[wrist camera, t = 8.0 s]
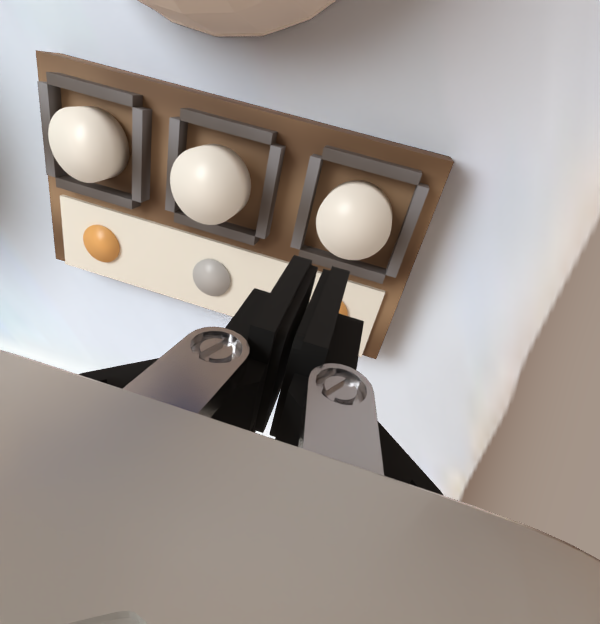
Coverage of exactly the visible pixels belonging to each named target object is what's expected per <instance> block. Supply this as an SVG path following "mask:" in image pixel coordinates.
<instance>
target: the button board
mask: <svg viewBox="0 0 600 624" xmlns="http://www.w3.org/2000/svg"><path fill="white" fill-rule="evenodd" d="M36 58H37V68H38V79H39V81H37V82H38V92H39V102H40V112H41V122H42V132H43V142H44V153H45V163H46V173H47V175H48V181H49V192H50V202H51V212H52V223H53V233H54V243H55V253H56V259H59V260H62V261H65V253H64V241H63V229H62V217H61V206H60V195H66V196H70V197H73V198H76V199H80V200H83V201H87V202H90V203H93V204H97V205H100V206H103V207H107V208H110V209H113V210H117V211H120V212H123V213H127V214H130V215H133V216H137V217H140V218H143V219H147V220H150V221H153V222H157V223H160V224H163V225H167V226H170V227H173V228H177V229H180V230H184V231H187V232H190V233H194V234H197V235H200V236H204V237H207V238H210V239H214V240H217V241H220V242H224V243H227V244H230V245H234V246H237V247H240V248H244V249H247V250H250V251H254V252H257V253H260V254H264V255H267V256H270V257H274V258H277V259H281V260H284V261H287V262H290V260H291V259H292V257H293V256H294V255H296V256H300V257H303V258H306V259H310V260H312V265H313V266H316V267H318V270H317V271H321V272H322V271H323V269H326V270H331V268H332V266H334V267H337V268H341V269H344V270H347V271H350V274H349V278H348V280H351V281H354V282H357V283H361V284H364V285H367V286H371V287H374V288H378V289H381V290H384V291H385V294H384V297H383V300H382V303H381V305H380V308H379V311H378V313H377V316H376V319H375V321H374V324H373V327H372V330H371V332H370V335H369V338H368V340H367V343H366V346H365V349H364V351H363V354H362V355H364V356H368V357H371V358H374V359H376V358H377V355H378V353H379V350H380V348H381V345H382V343H383V340H384V338H385V335H386V333H387V330H388V328H389V325H390V322H391V320H392V317H393V315H394V312H395V310H396V307H397V305H398V302H399V300H400V297H401V295H402V292H403V290H404V287H405V284H406V282H407V279H408V277H409V274H410V272H411V269H412V267H413V264H414V262H415V259H416V257H417V254H418V251H419V249H420V246H421V244H422V241H423V239H424V236H425V234H426V231H427V229H428V226H429V224H430V221H431V219H432V216H433V213H434V211H435V208H436V206H437V203H438V201H439V198H440V196H441V193H442V191H443V188H444V186H445V183H446V181H447V178H448V175H449V173H450V170H451V168H452V165H453V163H454V162H453V160H452V159H451V158H450V157H449V156H445V155H441V154H437V153H433V152H430V151H426V150H422V149H418V148H415V147H411V146H407V145H403V144H400V143H396V142H392V141H388V140H385V139H381V138H377V137H373V136H370V135H366V134H362V133H358V132H354V131H351V130H347V129H343V128H339V127H336V126H332V125H328V124H324V123H321V122H317V121H313V120H309V119H306V118H302V117H298V116H294V115H291V114H287V113H283V112H279V111H275V110H272V109H268V108H264V107H260V106H257V105H253V104H249V103H245V102H242V101H238V100H234V99H230V98H227V97H223V96H219V95H215V94H211V93H208V92H204V91H200V90H196V89H193V88H189V87H185V86H181V85H178V84H174V83H170V82H166V81H163V80H159V79H155V78H151V77H148V76H144V75H140V74H136V73H132V72H129V71H125V70H121V69H117V68H114V67H110V66H106V65H102V64H99V63H95V62H91V61H87V60H84V59H80V58H76V57H72V56H69V55H65V54H60V53H52V52H44V51H36ZM76 106H95V107H99V108H102V109H103V110H105V111H107V112H108V113H110V114H111V115H112V116H113V117H114V118H115V119H116V120H117V121H118V122H119V124H120V125H121V127H122V128H123V130H124V132H125V135H126V137H127V141H128V145H129V159H128V163H127V165H126V167H125V169H124V170H123V171H122V172H121V173H120V174H119V175H118V176H115V177H112V178H109V179H105V180H102V181H98V182H94V183H86V182H82V181H79V180H77V179H75V178H73V177H72V176H70V175H69V174H68V173H66V172H65V171H64V170H63V169H62V167H61V166H60V165H59V163H58V162H57V161H56V159H55V157H54V155H53V153H52V150H51V147H50V144H49V138H48V129H49V124H50V121H51V119H52V117H53V115H54V114H55V113H56V112H57V111H58V110H60V109H62V108H65V107H76ZM206 144H220V145H223V146H226V147H228V148H230V149H231V150H233V151H234V152H235V153H237V154H238V155H239V156H240V158H241V159H242V160H243V162H244V163H245V165H246V167H247V169H248V171H249V175H250V179H251V192H250V197H249V199H248V202H247V203H246V205H245V206H244V208H243V209H242V210H241V211H239V212H238V213H237V214H235V215H234V216H233V217H231V218H230V219H228V220H227V221H225V222H223V223H220V224H216V225H206V224H202V223H199V222H196V221H194V220H193V219H191V218H190V217H188V216H187V215H186V214H185V213H184V212H183V211H182V210H181V209H180V207H179V206H178V205H177V203H176V201H175V199H174V197H173V194H172V191H171V186H170V174H171V169H172V166H173V164H174V162H175V160H176V159H177V158H178V156H179V155H180V154H181V153H183V152H184V151H186V150H188V149H190V148H194V147H198V146H202V145H206ZM352 180H362V181H367V182H370V183H372V184H374V185H376V186H377V187H379V188H380V189H381V190H382V191H383V192H384V193H385V194H386V196H387V197H388V199H389V201H390V204H391V207H392V226H391V232H390V235H389V238H388V240H387V242H386V243H385V245H384V246H383V247H382V248H381V249H380V250H379V251H378V252H377V253H375V254H374V255H372V256H370V257H368V258H365V259H361V260H347V259H343V258H340V257H337V256H336V255H334V254H332V253H331V252H330V251H328V250H327V249H326V248H325V246H324V245H323V244H322V242H321V240H320V239H319V236H318V233H317V229H316V217H317V213H318V210H319V207H320V205H321V204H322V202H323V201H324V199H325V198H326V197H327V195H328V194H329V193H330V192H331V191H332V190H333V189H334V188H335V187H337V186H338V185H340V184H342V183H344V182H347V181H352Z"/></svg>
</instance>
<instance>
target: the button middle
mask: <svg viewBox="0 0 600 624" xmlns="http://www.w3.org/2000/svg"><path fill="white" fill-rule="evenodd" d="M170 186H171V191H172V194H173V197H174V199H175V201H176V203H177V205H178V206H179V207H180V209H181V210H182V211H183V212H184V213H185V214H186V215H187V216H188V217H190V218H191V219H193V220H194V221H196V222H199V223H202V224H206V225H216V224H220V223H223V222H225V221H227V220H228V219H230V218H231V217H233V216H234V215H235V214H237V213H238V212H239V211H241V210H242V209H243V208H244V206H245V205H246V203H247V202H248V199H249V197H250V192H251V179H250V175H249V171H248V169H247V167H246V165H245V163H244V162H243V160H242V159H241V158H240V156H239V155H238V154H237V153H235V152H234V151H233V150H231V149H230V148H228V147H226V146H223V145H220V144H206V145H202V146H198V147H194V148H190V149H188V150H186V151H184V152H183V153H181V154H180V155H179V156H178V158H177V159H176V160H175V162H174V164H173V166H172V169H171V174H170Z"/></svg>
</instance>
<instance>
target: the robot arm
mask: <svg viewBox="0 0 600 624" xmlns="http://www.w3.org/2000/svg"><path fill="white" fill-rule="evenodd" d="M317 270H318V267H316V266H313V265H312V260H310V259H306V258H303V257H300V256H296V255H294V256H293V257H292V259H291V260H290V262H289V264H288V265H287V267H286V268H285V270H284V272H283V273H282V275H281V276H280V278H279V280H278V281H277V283H276V284H275V286H274V288H273V289H272V291H271V292H270V293H269V292H266V291H263V290H259V289H256V288H254V289H253V290H252V292H251V293H250V294H249V296H248V297H247V299H246V300H245V301H244V303H243V304H242V305H241V307H240V308H239V310H238V311H237V312H236V314H235V315H234V317H233V318H232V319H231V321H230V322H229V324H228V325H227V326H226V328H221V327H204V328H201V329H197V330H195V331H193V332H191V333H190V334H188V335H187V336H186V337H185V338H183V339H182V340H181V341H180V342H179V343H177V344H176V345H175V346H174V347H173V348H171V349H170V350H169V351H168V352H166V353H165V354H164V355H163V356H162V357H160V358H157V359H152V360H147V361H142V362H137V363H132V364H126V365H121V366H116V367H111V368H106V369H101V370H96V371H91V372H86V373H81V374H75V373H72V372H69V371H66V370H63V369H60V368H57V367H53V366H50V365H47V364H44V363H41V362H38V361H35V360H32V359H29V358H26V357H23V356H20V355H16V354H13V353H10V352H6V351H3V350H0V624H600V560H599V559H597V558H595V557H593V556H591V555H590V554H588V553H586V552H584V551H582V550H580V549H579V548H577V547H575V546H573V545H571V544H569V543H567V542H565V541H562V540H560V539H558V538H555V537H553V536H551V535H549V534H547V533H544V532H542V531H540V530H538V529H535V528H532V527H530V526H527V525H524V524H521V523H518V522H516V521H513V520H511V519H508V518H505V517H503V516H500V515H497V514H494V513H492V512H489V511H486V510H483V509H481V508H478V507H475V506H473V505H470V504H466V503H463V502H461V501H458V500H455V499H452V498H449V497H446V496H444V495H443V494H442V493H441V491H440V490H439V489H438V488H437V487H436V485H435V484H434V483H433V482H432V481H431V480H430V479H429V478H428V477H427V475H426V474H425V473H424V472H423V471H422V470H421V469H420V468H419V466H418V465H417V464H416V463H415V462H414V461H413V460H412V459H411V458H410V456H409V455H408V454H407V453H406V452H405V451H404V450H403V449H402V448H401V446H400V445H399V444H398V443H397V442H396V441H395V440H394V439H393V438H392V436H391V435H390V434H389V433H388V432H387V431H386V430H385V429H384V427H383V426H382V425H381V424H380V423H379V422H378V421H377V413H376V404H375V396H374V391H373V388H372V385H371V384H370V382H369V381H368V379H367V378H366V377H365V376H363V375H362V374H361V373H360V372H358V371H356V368H357V362H358V356H359V349H360V343H361V337H362V331H363V325H364V321H362V320H359V319H356V318H352V317H349V316H346V315H342V314H339V310H340V306H341V303H342V299H343V295H344V292H345V288H346V285H347V281H348V278H349V274H350V271H347V270H344V269H341V268H337V267H334V266H332V268H331V270H326V269H323V271H322V273H321V276H320V278H319V281H318V283H317V285H316V288H315V290H314V292H313V295H312V297H311V293H312V289H313V285H314V282H315V278H316V274H317ZM310 297H311V299H310ZM309 301H310V302H309ZM280 390H281V391H280ZM279 392H280V395H279ZM278 395H279V399H278V403H277V406H276V410H275V414H274V418H273V422H272V426H271V430H270V435H271V436H274V437H276V438H275V439H272V438H269V437H266V436H263V435H260V434H257V433H255V431H259V432H262V433H263V432H264V430H265V427H266V425H267V422H268V420H269V417H270V415H271V412H272V410H273V407H274V405H275V402H276V400H277V397H278Z"/></svg>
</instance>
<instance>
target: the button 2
mask: <svg viewBox="0 0 600 624" xmlns="http://www.w3.org/2000/svg"><path fill="white" fill-rule="evenodd" d="M391 226H392V207H391V204H390V201H389V199H388V197H387V196H386V194H385V193H384V192H383V191H382V190H381V189H380V188H379V187H377V186H376V185H374V184H372V183H370V182H367V181H362V180H352V181H347V182H344V183H342V184H340V185H338V186H337V187H335V188H334V189H333V190H332V191H331V192H330V193H329V194H328V195H327V197H326V198H325V199H324V201H323V202H322V204H321V205H320V207H319V210H318V213H317V217H316V229H317V233H318V236H319V239H320V240H321V242H322V244H323V245H324V246H325V248H326V249H327V250H328V251H330V252H331V253H332V254H334V255H336V256H337V257H340V258H343V259H347V260H361V259H365V258H368V257H370V256H372V255H374V254H375V253H377V252H378V251H379V250H380V249H381V248H382V247H383V246H384V245H385V243H386V242H387V240H388V238H389V235H390V232H391Z"/></svg>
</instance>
